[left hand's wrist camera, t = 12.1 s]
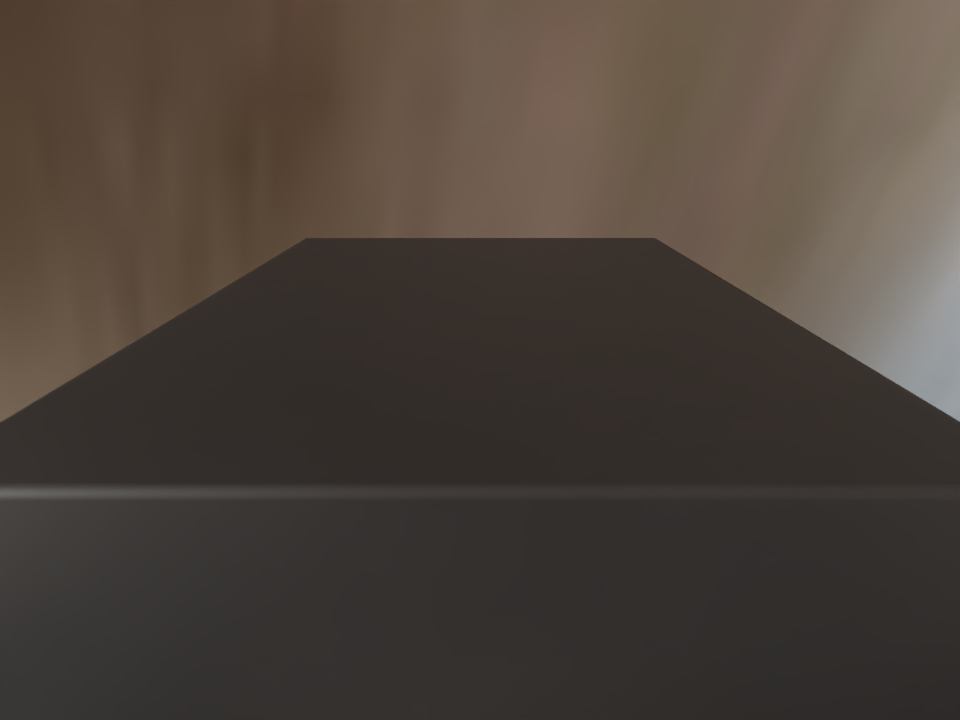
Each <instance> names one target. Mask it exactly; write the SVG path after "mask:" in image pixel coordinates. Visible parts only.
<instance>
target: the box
mask: <svg viewBox="0 0 960 720" xmlns="http://www.w3.org/2000/svg"><path fill="white" fill-rule="evenodd" d="M0 720H960V422H959V421H958V420H956V419H954V418H953V417H951V416H949V415H948V414H946V413H944V412H943V411H941V410H939V409H938V408H936V407H934V406H933V405H931V404H929V403H928V402H926V401H924V400H923V399H921V398H919V397H918V396H916V395H914V394H913V393H911V392H909V391H908V390H906V389H904V388H903V387H901V386H899V385H898V384H896V383H894V382H893V381H891V380H889V379H888V378H886V377H884V376H883V375H881V374H880V373H878V372H876V371H875V370H873V369H871V368H870V367H868V366H866V365H865V364H863V363H861V362H860V361H858V360H856V359H855V358H853V357H851V356H850V355H848V354H846V353H845V352H843V351H841V350H840V349H838V348H836V347H835V346H833V345H831V344H830V343H828V342H826V341H825V340H823V339H821V338H820V337H818V336H816V335H815V334H813V333H811V332H810V331H808V330H806V329H805V328H803V327H801V326H800V325H798V324H796V323H795V322H793V321H791V320H790V319H788V318H787V317H785V316H783V315H782V314H780V313H778V312H777V311H775V310H773V309H772V308H770V307H768V306H767V305H765V304H763V303H762V302H760V301H758V300H757V299H755V298H753V297H752V296H750V295H748V294H747V293H745V292H743V291H742V290H740V289H738V288H737V287H735V286H733V285H732V284H730V283H728V282H727V281H725V280H723V279H722V278H720V277H718V276H717V275H715V274H713V273H712V272H710V271H708V270H707V269H705V268H703V267H702V266H700V265H699V264H697V263H695V262H694V261H692V260H690V259H689V258H687V257H685V256H684V255H682V254H680V253H679V252H677V251H675V250H674V249H672V248H670V247H669V246H667V245H665V244H664V243H662V242H660V241H659V240H657V239H655V238H306V239H304V240H302V241H301V242H299V243H297V244H296V245H294V246H292V247H291V248H289V249H287V250H286V251H284V252H282V253H281V254H279V255H277V256H276V257H274V258H272V259H271V260H269V261H267V262H266V263H264V264H262V265H261V266H259V267H257V268H256V269H254V270H252V271H251V272H249V273H247V274H246V275H244V276H242V277H241V278H239V279H237V280H236V281H234V282H232V283H231V284H229V285H227V286H226V287H224V288H222V289H221V290H219V291H217V292H216V293H214V294H212V295H211V296H209V297H207V298H206V299H204V300H202V301H201V302H199V303H197V304H196V305H194V306H192V307H191V308H189V309H187V310H186V311H184V312H183V313H181V314H179V315H178V316H176V317H174V318H173V319H171V320H169V321H168V322H166V323H164V324H163V325H161V326H159V327H158V328H156V329H154V330H153V331H151V332H149V333H148V334H146V335H144V336H143V337H141V338H139V339H138V340H136V341H134V342H133V343H131V344H129V345H128V346H126V347H124V348H123V349H121V350H119V351H118V352H116V353H114V354H113V355H111V356H109V357H108V358H106V359H104V360H103V361H101V362H99V363H98V364H96V365H94V366H93V367H91V368H89V369H88V370H86V371H84V372H83V373H81V374H79V375H78V376H76V377H74V378H73V379H71V380H69V381H68V382H66V383H64V384H63V385H61V386H59V387H58V388H56V389H54V390H53V391H51V392H49V393H48V394H46V395H44V396H43V397H41V398H39V399H38V400H36V401H34V402H33V403H31V404H29V405H28V406H26V407H25V408H23V409H21V410H20V411H18V412H16V413H15V414H13V415H11V416H10V417H8V418H6V419H5V420H3V421H1V422H0Z"/></svg>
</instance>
